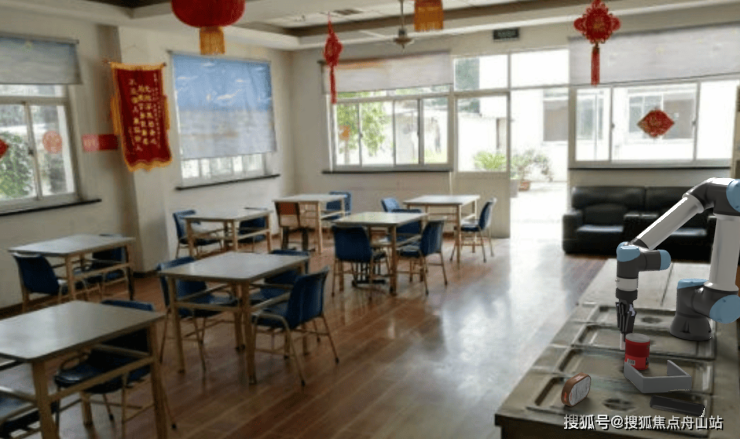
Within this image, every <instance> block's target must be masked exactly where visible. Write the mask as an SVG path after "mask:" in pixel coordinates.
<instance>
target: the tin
mask: <svg viewBox="0 0 740 439" xmlns="http://www.w3.org/2000/svg"><path fill="white" fill-rule="evenodd" d="M591 384H592V377H591V375H590V374H588V373H584V372H583V371H581V372H578V373H576V374H575V375H573V376H571V377H570V378H568V379H566V381H565V383H564V385H563V387H562V389H561V393H560V402H561V403H562V404H563V405H566V406H568V407H574V406H576V405H577V404H578V403H579V404H580V402H581V401H584V400H585V399H586V398H587V396H589V392H591Z"/></svg>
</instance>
